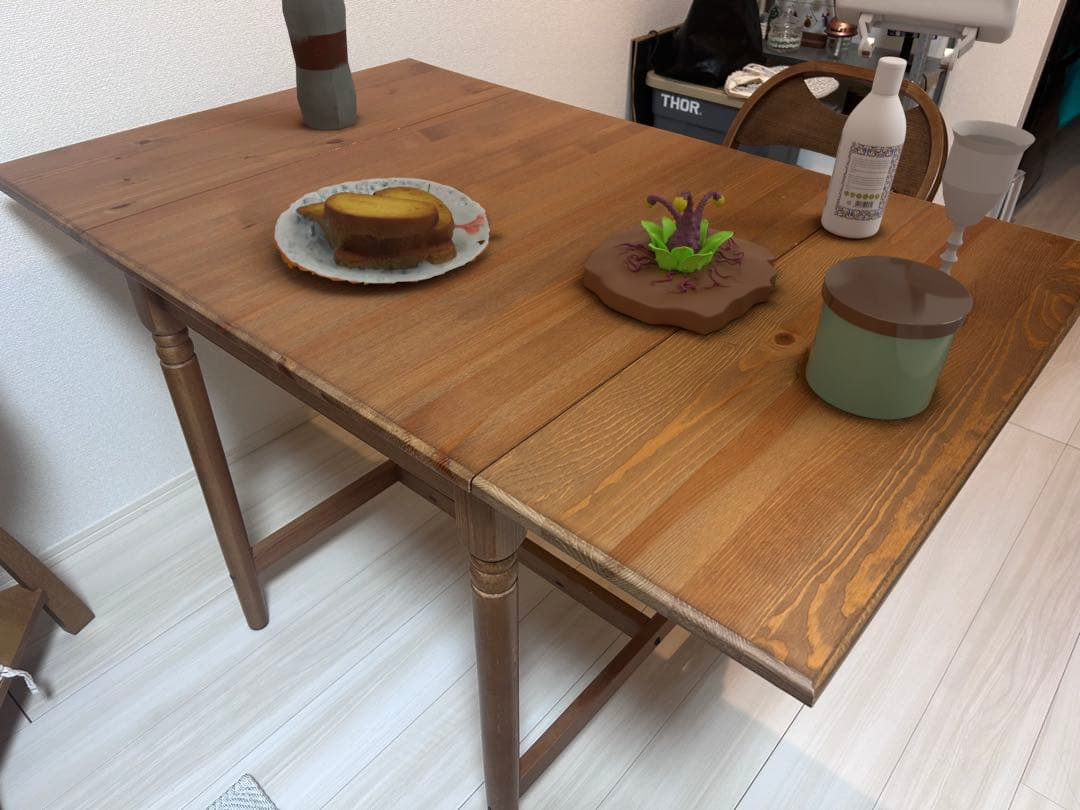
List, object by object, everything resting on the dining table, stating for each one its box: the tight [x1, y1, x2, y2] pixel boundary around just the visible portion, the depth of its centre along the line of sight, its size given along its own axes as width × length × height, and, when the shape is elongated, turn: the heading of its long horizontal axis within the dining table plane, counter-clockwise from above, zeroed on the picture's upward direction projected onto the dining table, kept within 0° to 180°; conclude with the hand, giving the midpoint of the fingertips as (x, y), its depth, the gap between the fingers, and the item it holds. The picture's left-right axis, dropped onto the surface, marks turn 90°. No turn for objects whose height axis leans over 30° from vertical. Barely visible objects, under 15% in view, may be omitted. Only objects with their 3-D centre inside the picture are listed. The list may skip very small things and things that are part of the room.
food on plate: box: [272, 176, 495, 286], centre depth 95 cm, size 25×25×7 cm
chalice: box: [938, 119, 1036, 276], centre depth 83 cm, size 7×7×18 cm
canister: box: [804, 255, 974, 421], centre depth 73 cm, size 12×12×10 cm
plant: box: [582, 190, 778, 336], centre depth 87 cm, size 20×20×11 cm
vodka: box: [281, 0, 358, 131], centre depth 121 cm, size 9×9×30 cm
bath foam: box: [820, 56, 908, 239], centre depth 95 cm, size 7×7×20 cm
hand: (904, 61), depth 96 cm, fingers open, 8 cm apart
